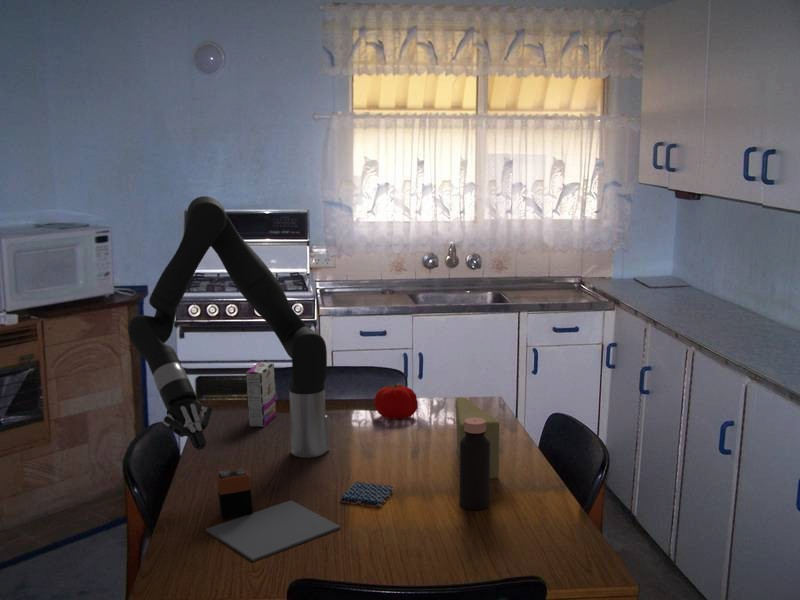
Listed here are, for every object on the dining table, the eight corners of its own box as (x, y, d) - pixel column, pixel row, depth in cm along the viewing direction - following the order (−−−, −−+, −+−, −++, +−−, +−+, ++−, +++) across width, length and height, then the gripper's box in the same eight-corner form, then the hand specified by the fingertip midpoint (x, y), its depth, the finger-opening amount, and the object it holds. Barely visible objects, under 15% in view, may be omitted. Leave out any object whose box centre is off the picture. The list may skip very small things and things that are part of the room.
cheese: (441, 450, 240) (441, 396, 237) (477, 447, 242) (477, 393, 239) (460, 482, 219) (461, 423, 216) (499, 479, 220) (500, 420, 217)
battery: (219, 513, 202) (215, 470, 201) (250, 508, 204) (246, 465, 203) (222, 519, 198) (218, 476, 197) (253, 514, 200) (249, 470, 199)
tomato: (417, 423, 262) (417, 389, 260) (373, 423, 262) (373, 389, 260) (417, 411, 273) (417, 378, 271) (375, 411, 273) (374, 378, 271)
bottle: (469, 513, 201) (470, 427, 197) (453, 502, 207) (454, 418, 203) (495, 507, 204) (496, 422, 200) (479, 496, 210) (479, 414, 206)
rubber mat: (291, 502, 208) (290, 500, 208) (340, 528, 194) (340, 526, 194) (206, 531, 194) (205, 528, 194) (252, 561, 180) (252, 559, 180)
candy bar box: (261, 414, 271) (258, 361, 267) (277, 415, 270) (275, 362, 266) (247, 426, 260) (245, 371, 257) (264, 427, 259) (261, 372, 256)
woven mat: (396, 492, 214) (396, 484, 214) (380, 510, 204) (380, 502, 204) (355, 487, 217) (355, 479, 217) (338, 504, 207) (338, 496, 207)
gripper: (152, 382, 209) (180, 446, 202) (203, 372, 218) (232, 433, 211) (143, 399, 214) (170, 462, 207) (194, 389, 223) (221, 449, 216)
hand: (201, 448), depth 209 cm, fingers closed
